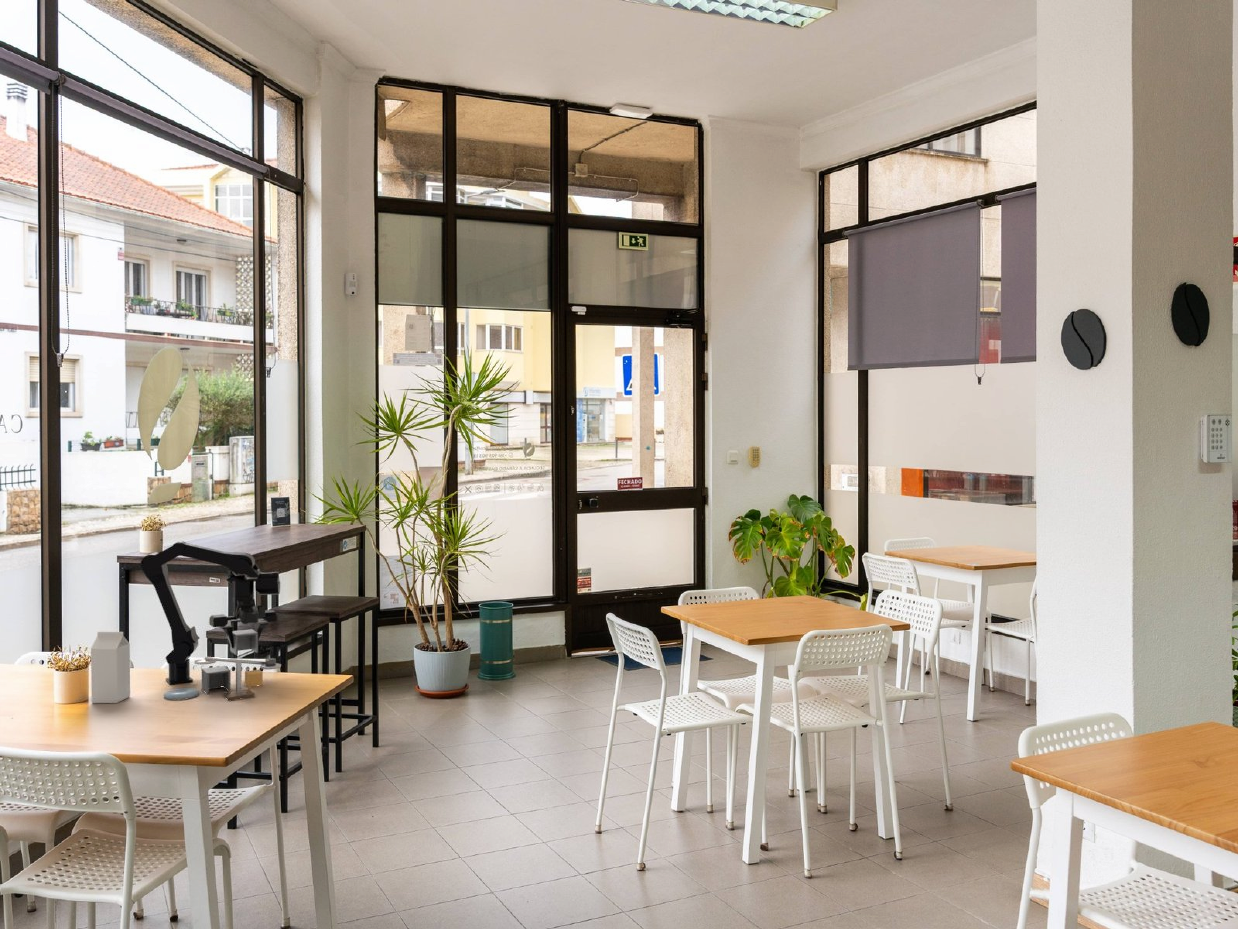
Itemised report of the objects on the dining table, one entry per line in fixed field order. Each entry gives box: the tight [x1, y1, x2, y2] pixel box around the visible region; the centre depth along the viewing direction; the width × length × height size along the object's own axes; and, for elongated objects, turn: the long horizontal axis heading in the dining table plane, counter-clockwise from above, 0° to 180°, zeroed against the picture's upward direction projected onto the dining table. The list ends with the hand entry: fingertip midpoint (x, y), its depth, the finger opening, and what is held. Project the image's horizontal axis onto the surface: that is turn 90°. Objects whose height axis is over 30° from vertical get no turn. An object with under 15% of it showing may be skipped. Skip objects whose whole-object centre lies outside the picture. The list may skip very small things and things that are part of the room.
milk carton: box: [90, 631, 131, 704], centre depth 276 cm, size 7×7×19 cm
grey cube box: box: [201, 665, 232, 695], centre depth 288 cm, size 6×6×6 cm
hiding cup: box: [229, 628, 259, 656], centre depth 302 cm, size 6×6×6 cm
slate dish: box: [163, 687, 200, 701], centre depth 281 cm, size 9×9×1 cm
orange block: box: [244, 669, 264, 688], centre depth 294 cm, size 4×4×4 cm
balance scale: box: [194, 656, 282, 702], centre depth 281 cm, size 6×23×12 cm, turn 125°
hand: (244, 646), depth 302 cm, fingers closed on hiding cup, 6 cm apart
